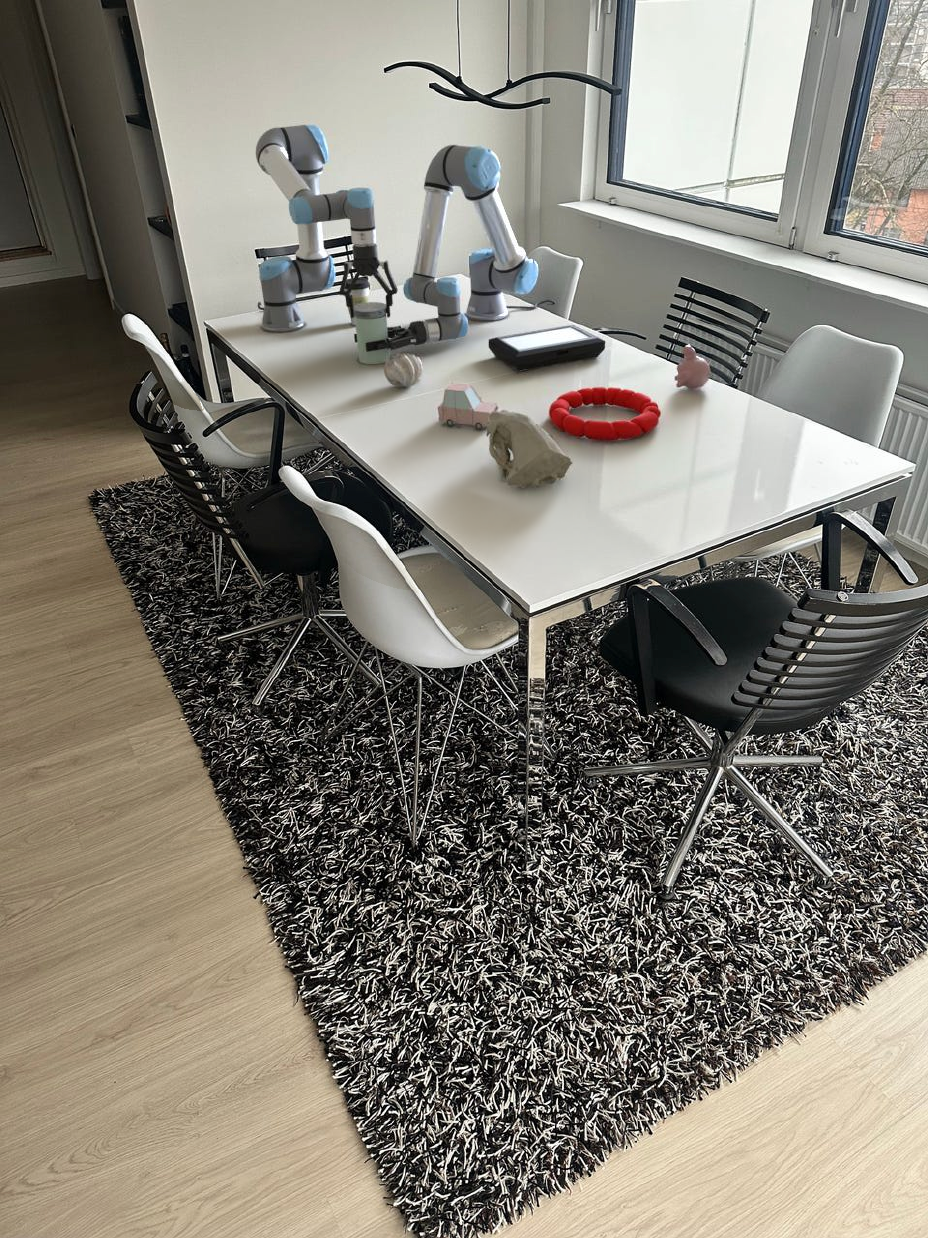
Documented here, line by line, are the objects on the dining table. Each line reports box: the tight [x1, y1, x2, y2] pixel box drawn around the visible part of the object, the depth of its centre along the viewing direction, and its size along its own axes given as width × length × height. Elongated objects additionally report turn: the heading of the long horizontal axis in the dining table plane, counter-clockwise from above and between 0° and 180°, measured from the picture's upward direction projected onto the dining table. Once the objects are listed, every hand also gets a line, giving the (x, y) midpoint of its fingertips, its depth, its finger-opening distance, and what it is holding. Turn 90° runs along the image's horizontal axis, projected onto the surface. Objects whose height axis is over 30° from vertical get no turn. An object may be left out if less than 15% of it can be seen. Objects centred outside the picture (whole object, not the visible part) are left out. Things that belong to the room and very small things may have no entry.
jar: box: [355, 313, 390, 365], centre depth 289 cm, size 10×10×16 cm
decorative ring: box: [548, 386, 661, 442], centre depth 242 cm, size 7×30×30 cm
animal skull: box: [485, 409, 573, 489], centre depth 216 cm, size 17×25×20 cm
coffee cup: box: [345, 277, 371, 326], centre depth 323 cm, size 10×10×15 cm
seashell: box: [383, 352, 424, 388], centre depth 268 cm, size 10×15×10 cm
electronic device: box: [488, 324, 606, 372], centre depth 288 cm, size 32×6×20 cm
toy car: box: [437, 382, 499, 431], centre depth 243 cm, size 9×15×10 cm, turn 70°
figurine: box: [674, 344, 711, 390], centre depth 259 cm, size 9×11×12 cm
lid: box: [353, 301, 387, 318], centre depth 284 cm, size 11×11×2 cm
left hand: (370, 316), depth 286 cm, fingers closed on lid, 11 cm apart
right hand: (360, 342), depth 288 cm, fingers closed on jar, 10 cm apart
